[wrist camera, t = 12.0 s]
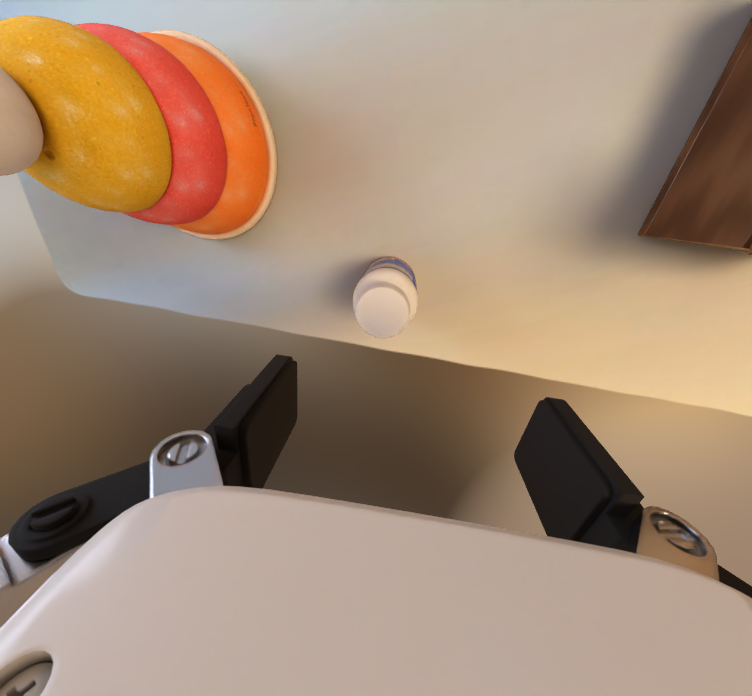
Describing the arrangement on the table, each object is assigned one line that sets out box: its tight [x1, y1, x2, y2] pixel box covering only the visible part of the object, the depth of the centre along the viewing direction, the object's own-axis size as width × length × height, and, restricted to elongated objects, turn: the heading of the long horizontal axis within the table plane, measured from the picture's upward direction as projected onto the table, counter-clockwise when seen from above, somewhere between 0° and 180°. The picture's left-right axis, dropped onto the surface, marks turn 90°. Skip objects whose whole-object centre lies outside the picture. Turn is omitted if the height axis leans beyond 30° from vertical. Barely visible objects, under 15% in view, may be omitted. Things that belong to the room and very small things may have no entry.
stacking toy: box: [0, 16, 277, 240], centre depth 17 cm, size 14×14×20 cm
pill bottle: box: [353, 257, 418, 338], centre depth 25 cm, size 5×5×10 cm
